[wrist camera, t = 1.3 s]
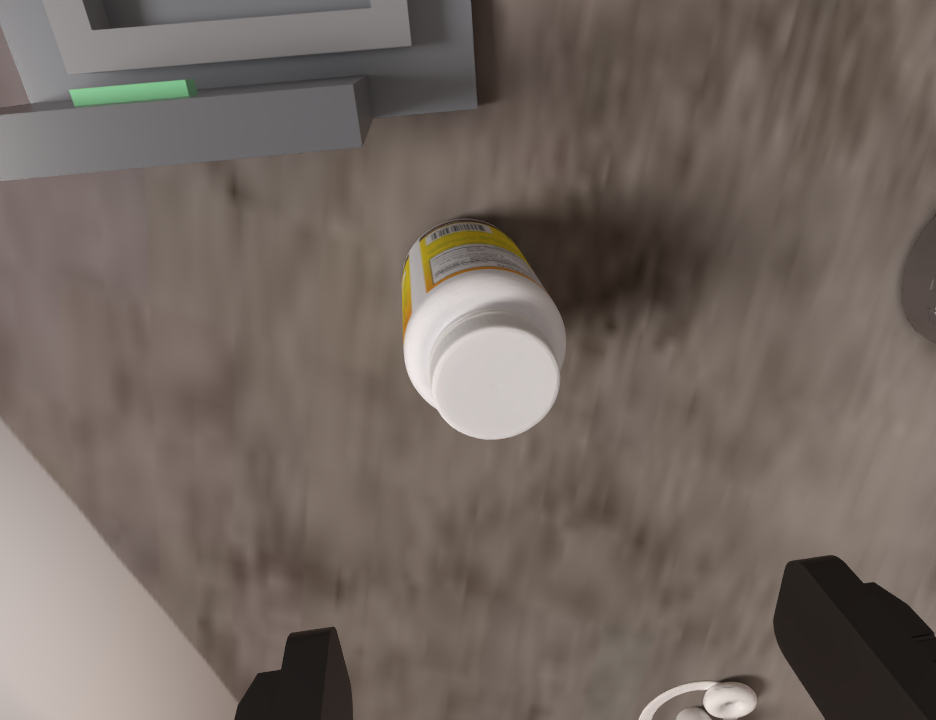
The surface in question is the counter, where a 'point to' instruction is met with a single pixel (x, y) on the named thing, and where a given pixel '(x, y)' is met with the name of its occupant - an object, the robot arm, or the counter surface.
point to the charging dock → (221, 78)
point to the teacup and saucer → (709, 701)
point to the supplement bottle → (480, 330)
